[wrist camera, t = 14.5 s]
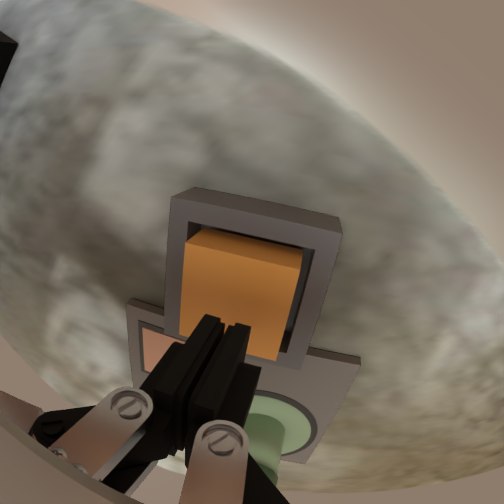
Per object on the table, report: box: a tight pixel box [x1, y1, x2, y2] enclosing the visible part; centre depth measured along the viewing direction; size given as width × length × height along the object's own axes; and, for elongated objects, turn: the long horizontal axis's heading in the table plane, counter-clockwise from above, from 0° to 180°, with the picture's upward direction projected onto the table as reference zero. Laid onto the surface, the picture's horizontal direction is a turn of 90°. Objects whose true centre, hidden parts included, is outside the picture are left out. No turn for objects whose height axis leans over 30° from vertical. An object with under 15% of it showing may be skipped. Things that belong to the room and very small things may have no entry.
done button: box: [179, 228, 303, 361], centre depth 15 cm, size 5×5×2 cm
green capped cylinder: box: [243, 413, 285, 487], centre depth 19 cm, size 4×4×6 cm
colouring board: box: [126, 299, 361, 464], centre depth 22 cm, size 16×13×1 cm
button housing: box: [164, 187, 343, 371], centre depth 17 cm, size 8×8×3 cm
